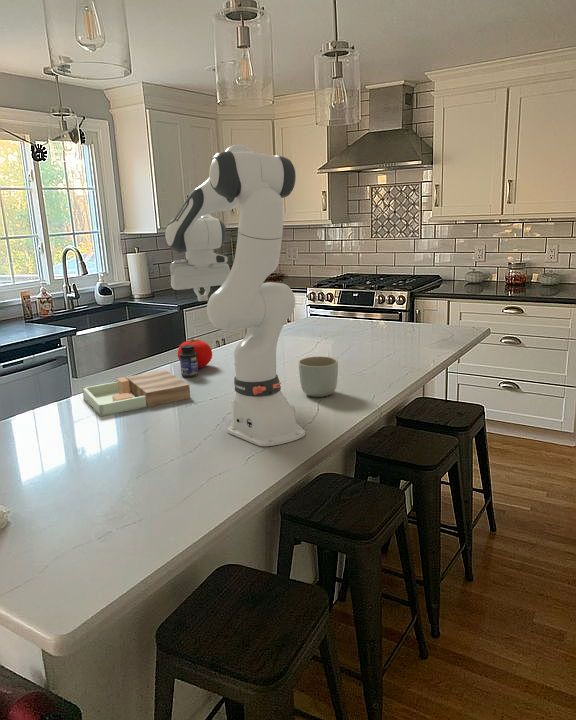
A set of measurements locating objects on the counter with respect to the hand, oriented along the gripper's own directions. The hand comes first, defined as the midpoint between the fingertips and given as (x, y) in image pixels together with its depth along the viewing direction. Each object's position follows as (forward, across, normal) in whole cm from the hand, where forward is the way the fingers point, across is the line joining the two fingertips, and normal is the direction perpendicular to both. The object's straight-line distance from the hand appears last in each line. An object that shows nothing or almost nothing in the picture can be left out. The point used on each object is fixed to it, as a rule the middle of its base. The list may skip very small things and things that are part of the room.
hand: (202, 300), depth 196 cm
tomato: (+29, +5, +24) cm, 38 cm away
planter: (+29, +24, -32) cm, 50 cm away
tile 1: (+26, -31, -4) cm, 41 cm away
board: (+29, -18, +1) cm, 34 cm away
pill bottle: (+29, -1, +15) cm, 33 cm away
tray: (+29, -32, +1) cm, 44 cm away
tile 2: (+26, -26, +6) cm, 38 cm away
